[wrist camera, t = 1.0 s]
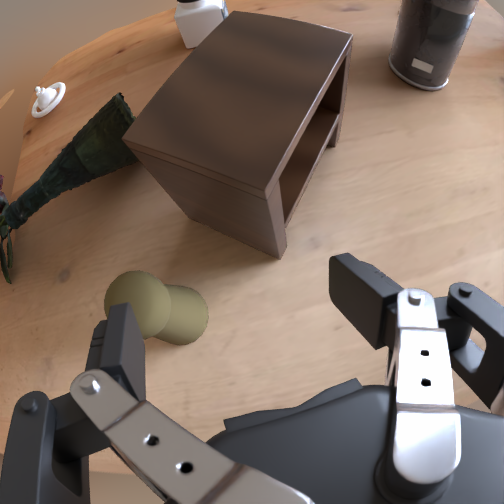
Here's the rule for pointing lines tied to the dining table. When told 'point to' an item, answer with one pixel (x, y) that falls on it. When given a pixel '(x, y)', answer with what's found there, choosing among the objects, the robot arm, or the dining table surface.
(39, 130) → the dining table surface
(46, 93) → the ring around a ball
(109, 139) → the carnation
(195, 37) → the medicine bottle
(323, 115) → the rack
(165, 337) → the cork
